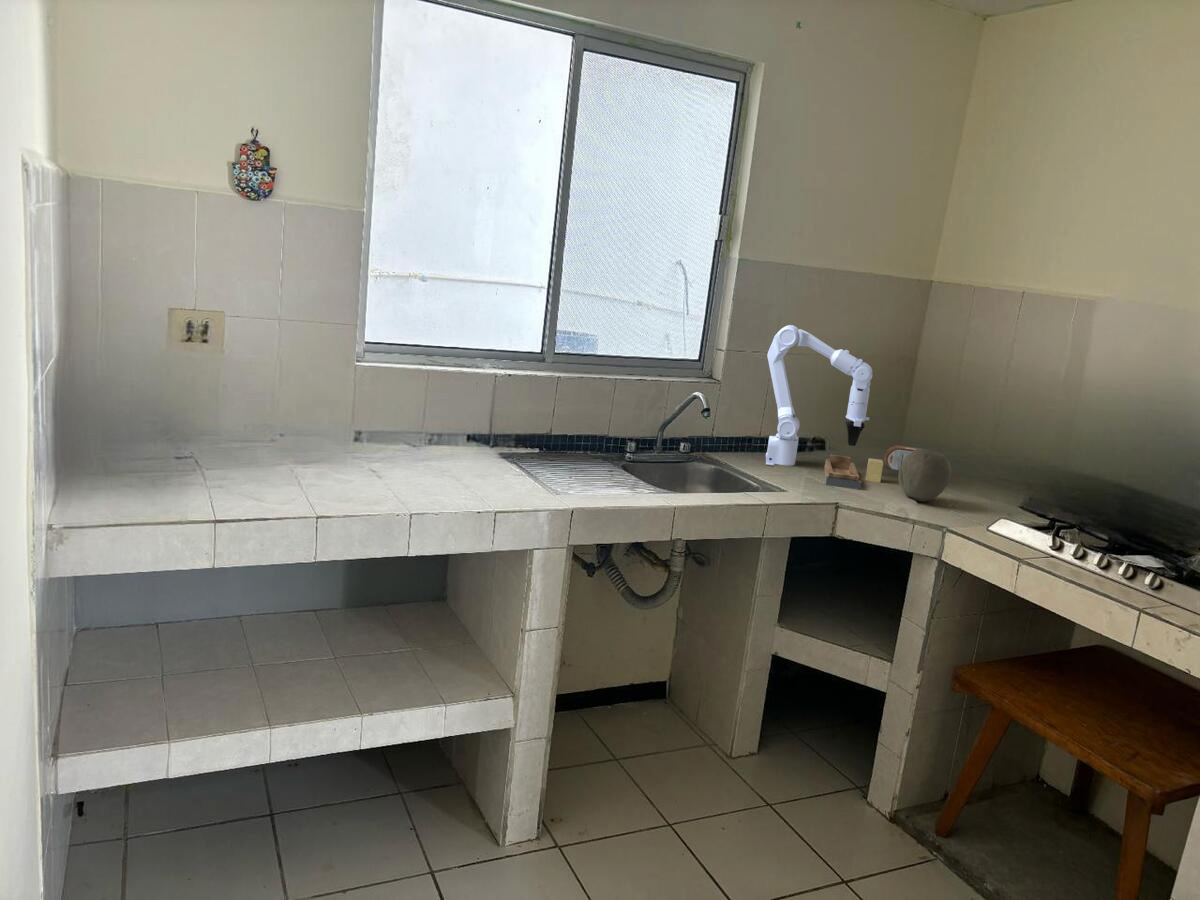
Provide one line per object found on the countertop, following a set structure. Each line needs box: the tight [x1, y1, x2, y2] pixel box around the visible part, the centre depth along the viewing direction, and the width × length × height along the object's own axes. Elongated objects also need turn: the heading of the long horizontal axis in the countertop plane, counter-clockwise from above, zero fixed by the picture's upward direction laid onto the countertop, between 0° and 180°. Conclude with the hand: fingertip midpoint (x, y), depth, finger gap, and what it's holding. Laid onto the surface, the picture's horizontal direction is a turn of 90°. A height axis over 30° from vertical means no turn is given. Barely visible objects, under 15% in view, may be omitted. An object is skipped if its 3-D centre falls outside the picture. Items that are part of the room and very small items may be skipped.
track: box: [824, 475, 863, 490], centre depth 287 cm, size 11×29×3 cm, turn 170°
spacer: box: [865, 457, 884, 483], centre depth 286 cm, size 4×4×7 cm
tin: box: [883, 445, 922, 472], centre depth 305 cm, size 15×3×8 cm, turn 84°
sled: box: [823, 454, 860, 481], centre depth 285 cm, size 9×20×5 cm, turn 170°
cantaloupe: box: [897, 448, 953, 503], centre depth 269 cm, size 14×14×15 cm
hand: (851, 445), depth 292 cm, fingers closed
